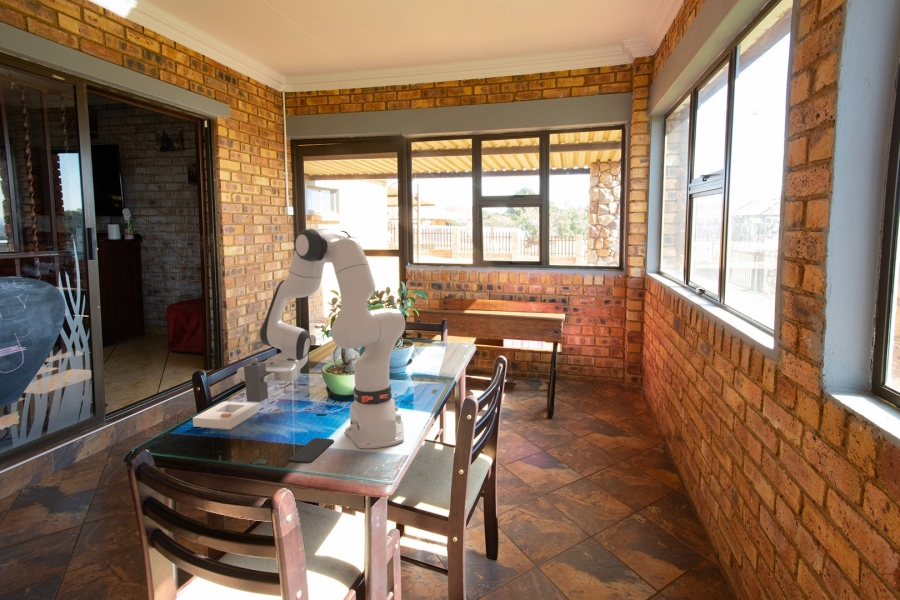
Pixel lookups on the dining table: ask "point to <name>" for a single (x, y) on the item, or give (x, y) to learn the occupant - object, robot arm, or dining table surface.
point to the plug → (255, 381)
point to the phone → (311, 450)
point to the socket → (226, 415)
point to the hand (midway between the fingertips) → (254, 379)
